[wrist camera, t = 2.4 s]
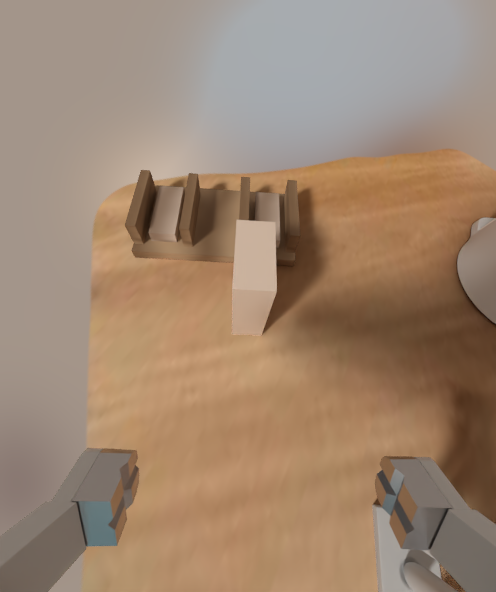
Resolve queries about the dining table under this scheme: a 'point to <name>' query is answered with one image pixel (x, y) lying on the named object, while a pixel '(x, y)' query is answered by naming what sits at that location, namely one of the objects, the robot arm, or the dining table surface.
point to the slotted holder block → (207, 220)
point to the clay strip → (253, 276)
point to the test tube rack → (403, 562)
